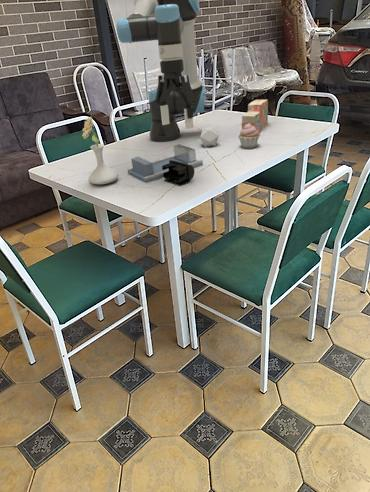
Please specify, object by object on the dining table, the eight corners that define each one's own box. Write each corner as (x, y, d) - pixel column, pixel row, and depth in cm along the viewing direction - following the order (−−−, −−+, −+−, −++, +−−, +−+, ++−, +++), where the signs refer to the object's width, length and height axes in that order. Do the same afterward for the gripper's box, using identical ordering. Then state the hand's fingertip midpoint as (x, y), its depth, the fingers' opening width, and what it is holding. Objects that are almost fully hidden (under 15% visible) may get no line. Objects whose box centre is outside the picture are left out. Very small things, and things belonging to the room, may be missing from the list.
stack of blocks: (254, 136, 197) (254, 109, 191) (241, 136, 200) (241, 109, 194) (267, 124, 213) (268, 99, 207) (255, 124, 216) (255, 99, 210)
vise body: (128, 174, 167) (125, 158, 164) (183, 157, 179) (181, 143, 176) (146, 183, 157) (143, 166, 154) (202, 165, 168) (201, 149, 165)
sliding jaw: (174, 157, 175) (173, 145, 172) (185, 154, 177) (184, 142, 175) (190, 163, 167) (188, 151, 164) (201, 160, 169) (200, 147, 167)
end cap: (195, 180, 155) (194, 162, 151) (181, 186, 151) (179, 168, 147) (177, 175, 161) (175, 157, 158) (162, 181, 157) (160, 163, 154)
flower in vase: (91, 178, 167) (77, 112, 155) (120, 174, 167) (108, 109, 155) (86, 190, 155) (71, 121, 143) (117, 187, 156) (105, 117, 143)
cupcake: (261, 148, 180) (261, 124, 175) (239, 150, 180) (239, 126, 175) (258, 142, 188) (258, 119, 183) (237, 144, 188) (236, 121, 184)
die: (213, 150, 186) (223, 130, 184) (195, 141, 185) (205, 121, 184) (212, 151, 194) (222, 132, 192) (195, 143, 193) (205, 123, 192)
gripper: (140, 61, 145) (148, 124, 154) (185, 60, 127) (191, 132, 136) (159, 58, 149) (165, 121, 158) (205, 57, 131) (209, 127, 140)
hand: (177, 126), depth 147 cm, fingers open, 13 cm apart
